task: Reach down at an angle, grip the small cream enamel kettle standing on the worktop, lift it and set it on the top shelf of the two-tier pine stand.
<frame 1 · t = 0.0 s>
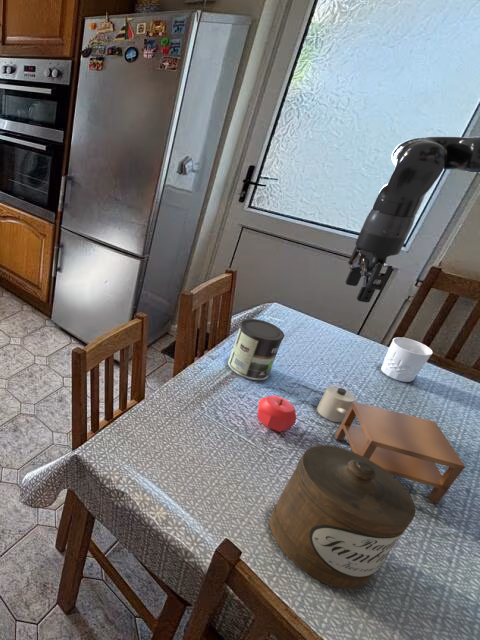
hand: (356, 292, 99), 31 cm above the table, tool pointing down, fingers open, 8 cm apart
white cup: (396, 374, 118), on the table
coffee can: (247, 368, 121), on the table
stand: (381, 467, 91), on the table
wooden container: (316, 545, 77), on the table
kettle: (330, 413, 105), on the table
apple: (271, 424, 102), on the table
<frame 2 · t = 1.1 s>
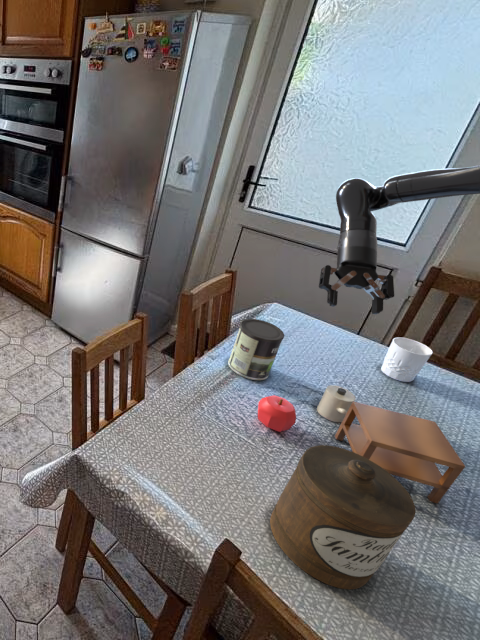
hand: (354, 309, 103), 25 cm above the table, tool tilted 45°, fingers open, 8 cm apart
nothing on the table moved.
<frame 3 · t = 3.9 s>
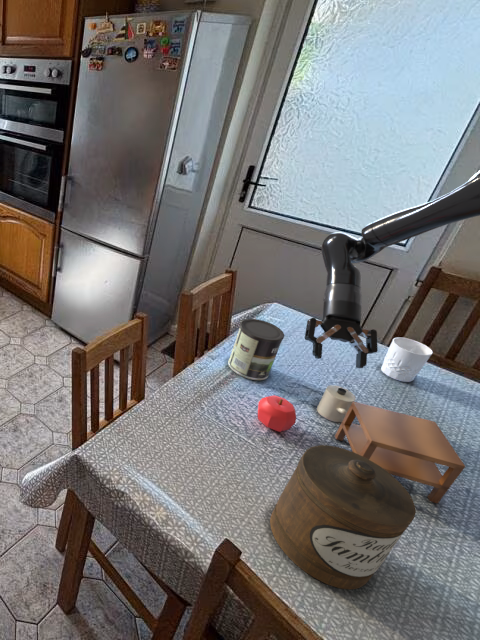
hand: (338, 363, 106), 11 cm above the table, tool tilted 45°, fingers open, 8 cm apart
nothing on the table moved.
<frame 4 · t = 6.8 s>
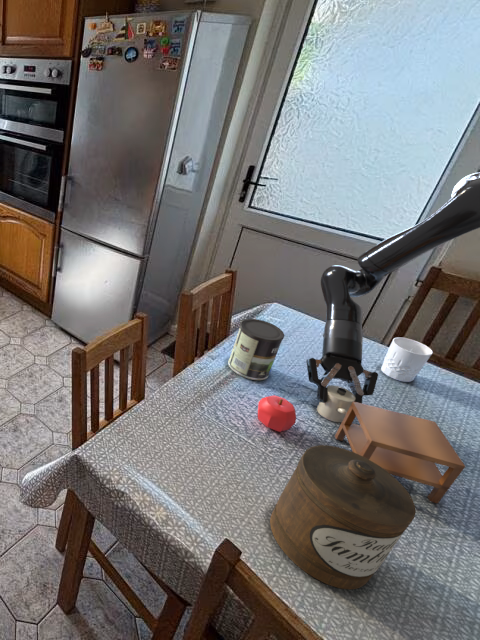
hand: (338, 406, 102), 4 cm above the table, tool tilted 45°, fingers closed on kettle, 5 cm apart
kettle: (330, 413, 105), on the table, touching gripper
everything else where it was.
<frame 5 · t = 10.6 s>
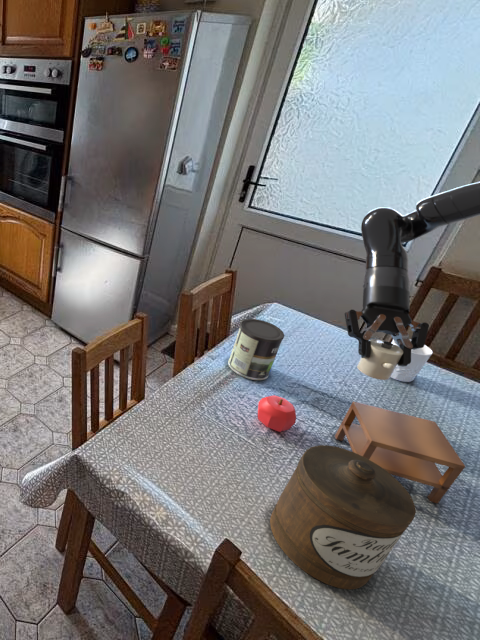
hand: (384, 361, 90), 22 cm above the table, tool tilted 45°, fingers closed on kettle, 5 cm apart
kettle: (373, 371, 94), point 18 cm above the table, touching gripper
everything else where it was.
when the fingers open (15 cm above the table, at t = 14.8 s): kettle stays where it is, resting on stand.
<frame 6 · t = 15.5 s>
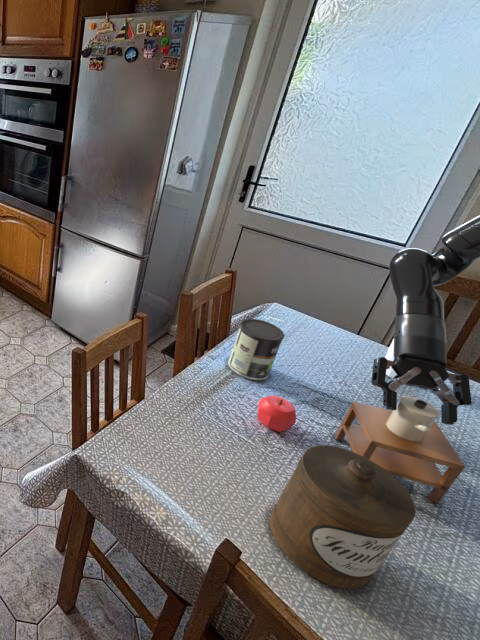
hand: (419, 416, 83), 17 cm above the table, tool tilted 45°, fingers open, 8 cm apart
kettle: (403, 430, 86), point 11 cm above the table, touching stand
everything else where it was.
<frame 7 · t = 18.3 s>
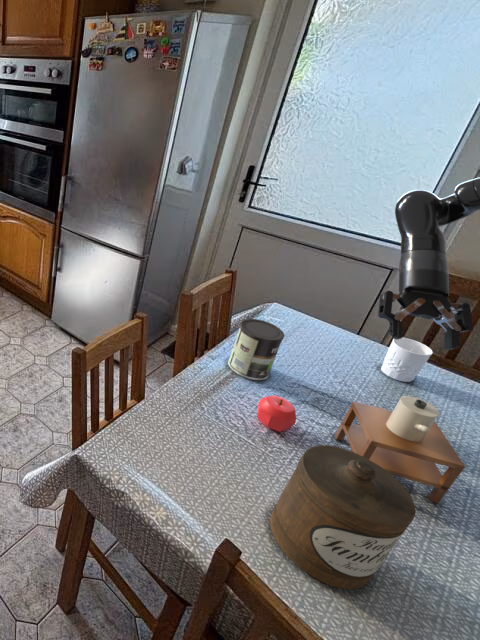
hand: (423, 343, 88), 27 cm above the table, tool tilted 45°, fingers open, 8 cm apart
nothing on the table moved.
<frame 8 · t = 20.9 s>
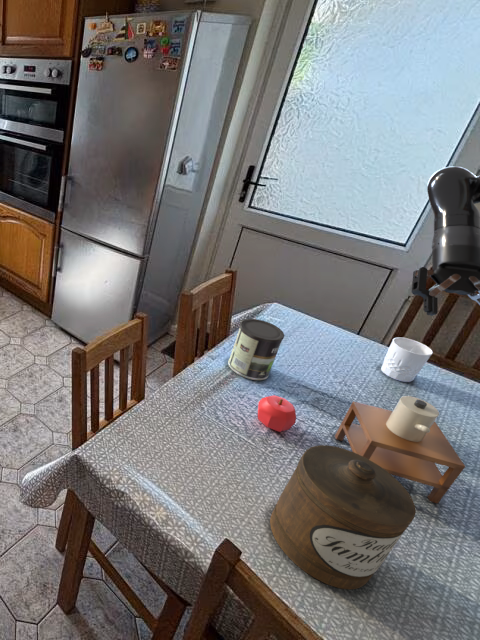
hand: (459, 319, 87), 32 cm above the table, tool tilted 45°, fingers open, 8 cm apart
nothing on the table moved.
at the end: kettle inside the target area on the stand (0.1 cm from its centre), point 11.2 cm above the stand's base; kettle tilted 0°; the gripper is holding nothing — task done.
